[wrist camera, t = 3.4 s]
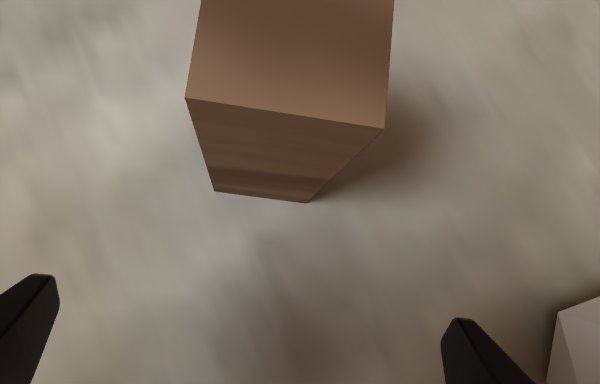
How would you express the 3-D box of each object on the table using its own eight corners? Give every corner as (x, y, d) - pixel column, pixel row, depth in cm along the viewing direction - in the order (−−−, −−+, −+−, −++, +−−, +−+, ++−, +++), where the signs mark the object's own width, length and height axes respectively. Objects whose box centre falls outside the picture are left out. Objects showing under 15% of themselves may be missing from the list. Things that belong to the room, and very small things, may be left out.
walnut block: (305, 203, 23) (384, 128, 11) (214, 191, 23) (184, 97, 10) (314, 118, 24) (397, -43, 12) (227, 104, 24) (215, -81, 11)
